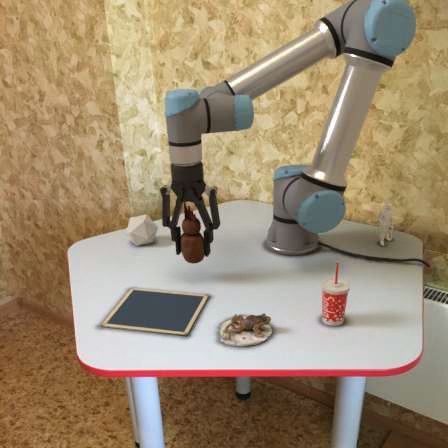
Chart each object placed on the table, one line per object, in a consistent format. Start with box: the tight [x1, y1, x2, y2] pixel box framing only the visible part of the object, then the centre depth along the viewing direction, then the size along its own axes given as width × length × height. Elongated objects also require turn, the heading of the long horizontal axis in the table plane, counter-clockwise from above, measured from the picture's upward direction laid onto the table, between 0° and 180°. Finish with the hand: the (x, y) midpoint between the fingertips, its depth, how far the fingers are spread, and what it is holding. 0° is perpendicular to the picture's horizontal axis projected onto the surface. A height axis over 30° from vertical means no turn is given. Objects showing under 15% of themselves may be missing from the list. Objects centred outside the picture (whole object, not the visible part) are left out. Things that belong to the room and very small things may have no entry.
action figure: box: [376, 202, 398, 247], centre depth 152 cm, size 6×4×12 cm, turn 123°
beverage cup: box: [320, 262, 351, 327], centre depth 115 cm, size 6×6×14 cm
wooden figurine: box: [180, 202, 205, 265], centre depth 131 cm, size 7×6×15 cm
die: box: [125, 214, 159, 247], centre depth 158 cm, size 8×9×10 cm
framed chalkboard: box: [100, 287, 210, 337], centre depth 124 cm, size 20×18×1 cm
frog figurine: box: [219, 313, 273, 348], centre depth 115 cm, size 12×12×4 cm
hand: (193, 253), depth 134 cm, fingers closed on wooden figurine, 7 cm apart
